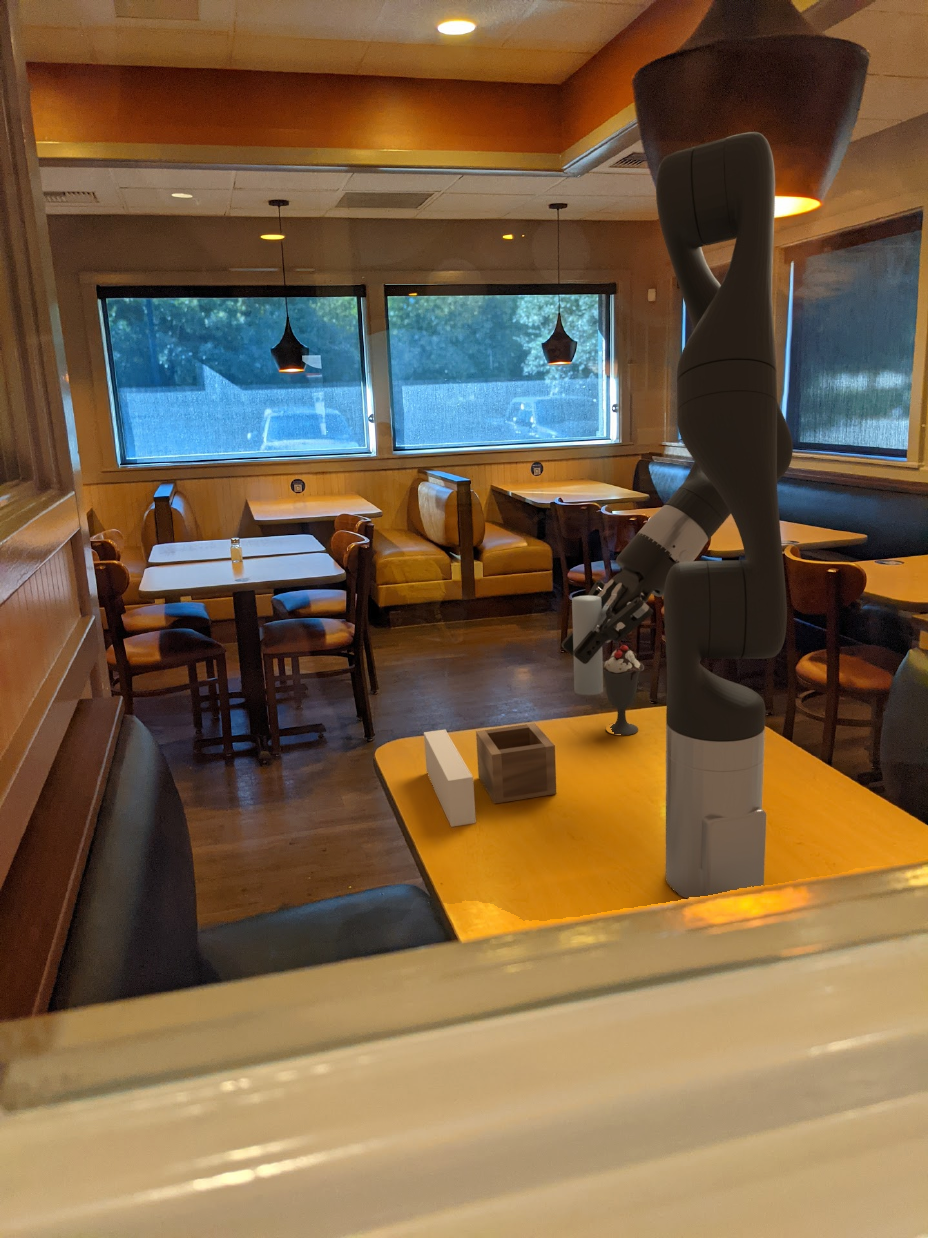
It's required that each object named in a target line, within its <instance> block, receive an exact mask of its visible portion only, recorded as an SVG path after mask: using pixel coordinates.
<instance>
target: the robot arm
mask: <svg viewBox="0 0 928 1238" xmlns="http://www.w3.org/2000/svg"><path fill="white" fill-rule="evenodd" d="M658 165H659V166H658V168H657V173H656V180H655V197H656V200H655V201H656V207H657V215H658V220H659V224H660V228H661V233H662V236H663V240H664V244H665V247H666V250H667V253H668V257H669V259H670V262H671V266H672V269H673V271H674V274H675V279H676V280H677V284H678V288H679V290H680V293H681V296H682V299H683V302H684V305H685V307H686V311H687V313H688V317H689V319H690V322H691V324H692V328H693V331H692V332H691V334H690V336H689V338H688V339H687V341H686V343H685V344H684V347H683V349H682V351H681V354H680V357H679V360H678V364H677V368H676V370H677V371H676V400H677V401H676V407H677V408H676V411H677V413H676V414H677V416H676V417H677V419H676V420H677V429H678V430H677V431H678V433H679V436H680V439H681V440H682V441H681V442H683V445H684V446H685V448H686V450H687V451H688V454H690V456H691V458H692V459H693V460H694V462H693V463H692V465H691V468H690V470H689V472H688V475H687V476H686V478H685V480H684V482H683V483H682V484H681V485H680V486H679V487H678V489H676V491H675V492H674V493H673V494H672V495H671V497H670V498H669V499H668V500H667V502H665V504H664V505H663V506H662V507H661V508H660V509H659V510H658V511H656V512H655V513H654V514H653V515H652V516H651V517H650V518H649V519H648V521H647V522H645V524H644V525H643V526H642V528H641V529H640V530H639V531H638V532H637V533H636V534H635V535H634V537H633V538H632V539H631V540H630V542H628V543H627V545H626V546H625V547H624V548H623V549H622V551H621V552H620V553H619V554H618V555H617V557H616V559H615V560H616V561H615V562H616V564H617V565H618V567H619V568H620V571H619V572H618V573H616V575H614V576H612V578H611V579H610V580H609V581H608V582H606V583H605V582H603V581H602V579H598V580H597V581H595V583H594V584H593V585H592V587H591V589H590V591H589V592H588V594H587V595H586V596H598V597H601V606H602V610H601V618H600V619H599V621H598V622H597V623H596V625H595V626H594V628H593V631H594V632H592V631H590V632H589V633H588V634H587V636H586V637H585V638H584V639H583V640H582V641H581V643H580V644H579V645H578V646H577V647H576V648H575V650H574V651H573V629H572V630H571V631H570V633H569V634H568V635H567V636H566V637H565V639H563V641H562V642H561V647H562V648H563V649H564V650H565V651H566V652H568V653H569V654H570V655H571V656H573V657H574V656H575V657H576V658H577V659H578V660H579V661H581V662H582V663H583V664H587V663H588V662H589V661H590V660H591V658H592V657H593V656H594V655H595V654H596V653H597V651H598V650H599V649H600V648H601V647H602V648H603V646H604V645H605V643H606V644H608V643H610V642H612V641H613V642H614V643H617V644H618V643H619V641H620V640H621V641H622V640H623V639H624V638H625V637H626V636H628V635H629V634H630V633H631V632H633V630H635V629H636V628H638V627H639V626H640V625H641V624H642V623H643V622H644V621H646V620H647V619H648V618H649V617H651V616H652V615H653V614H654V610H653V609H652V608H651V607H650V606H649V605H648V604H647V602H648V600H649V599H650V597H651V595H653V596H656V597H658V598H659V597H660V598H662V597H663V616H664V617H663V620H664V632H665V633H664V634H665V637H664V638H665V650H666V651H665V652H666V654H665V655H666V656H665V657H666V708H665V709H666V712H665V715H666V717H665V718H666V719H665V720H666V721H665V722H666V724H665V729H666V730H665V880H666V879H667V881H666V883H667V882H668V883H667V885H668V884H669V885H670V886H671V887H672V889H674V890H675V891H676V892H677V893H678V894H677V893H676V892H675V891H674V892H675V893H676V894H677V895H679V896H680V897H682V898H684V899H686V898H689V897H700V896H708V895H713V894H718V893H722V892H727V891H730V890H737V889H739V888H747V887H751V886H752V887H754V886H761V885H764V886H765V863H766V862H765V861H766V860H765V858H766V839H767V838H766V837H767V836H766V835H767V833H766V831H767V829H766V828H767V812H766V811H765V810H764V809H763V785H764V762H765V761H764V758H765V736H766V735H765V733H766V705H765V704H766V703H765V700H764V699H763V697H762V696H761V695H760V694H759V693H758V692H756V691H754V690H753V689H752V688H749V687H748V686H745V685H742V684H740V683H737V682H733V681H730V680H728V679H725V678H723V677H721V676H719V675H716V674H714V673H713V672H711V671H709V669H707V668H706V667H704V666H703V665H702V664H701V663H700V662H701V660H703V659H705V660H706V659H707V660H708V659H709V660H720V659H721V660H723V659H724V660H725V659H726V660H727V659H728V660H730V659H731V660H740V659H742V660H743V659H745V660H747V659H748V660H750V659H751V660H753V659H757V660H760V659H771V658H774V657H776V656H777V655H778V654H779V653H780V652H781V650H782V648H783V646H784V643H785V639H786V633H787V624H788V623H787V622H788V618H787V617H788V613H787V612H788V603H787V591H786V577H785V568H784V566H785V565H784V556H783V555H784V554H783V545H782V535H781V524H780V521H781V520H780V512H779V500H778V499H779V498H778V496H779V495H778V481H780V479H781V478H782V477H784V475H785V474H786V473H787V471H788V469H789V467H790V465H791V462H792V458H793V451H794V445H793V438H792V434H791V431H790V428H789V426H788V422H787V420H786V418H785V416H784V414H783V411H782V409H781V406H780V404H779V402H778V386H777V385H778V384H777V380H778V379H777V359H776V357H777V356H776V342H775V329H774V326H775V325H774V312H773V311H774V310H773V264H774V263H773V259H774V258H773V257H774V236H775V235H774V233H775V232H774V231H775V210H776V207H775V206H776V205H775V204H776V199H775V198H776V173H775V164H774V156H773V152H772V149H771V146H770V143H769V141H768V139H767V138H766V136H764V135H763V134H762V133H760V132H756V131H748V132H742V133H737V134H734V135H730V136H727V137H724V138H721V139H717V140H713V141H710V142H705V143H703V144H700V145H695V146H692V147H688V148H685V149H682V150H677V151H675V152H673V153H670V154H668V155H666V156H664V157H663V158H662V160H661V162H660V163H659V164H658ZM733 240H735V243H734V247H733V251H732V255H731V259H730V261H729V266H728V268H727V271H726V273H725V275H724V278H723V280H722V282H721V284H720V282H719V281H718V280H717V278H716V277H715V276H714V274H713V272H712V271H711V269H710V267H709V265H708V263H707V261H706V257H705V255H704V252H703V247H705V246H710V245H716V244H720V243H724V242H729V241H733ZM730 515H731V516H732V519H733V521H734V522H735V525H736V528H737V530H738V533H739V537H740V539H741V543H742V546H743V551H744V558H745V559H744V560H743V559H742V560H741V559H740V560H739V559H738V560H737V559H735V560H696V561H695V559H697V557H698V556H699V554H700V553H701V552H702V551H703V549H704V547H705V545H706V544H707V543H708V541H709V540H710V539H711V538H712V537H713V535H714V534H715V533H716V532H717V531H718V530H719V529H720V528H721V526H723V524H724V523H725V521H727V519H728V518H729V516H730ZM669 885H668V886H669ZM670 886H669V887H670ZM671 887H670V888H671ZM672 889H671V890H672Z"/></svg>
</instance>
